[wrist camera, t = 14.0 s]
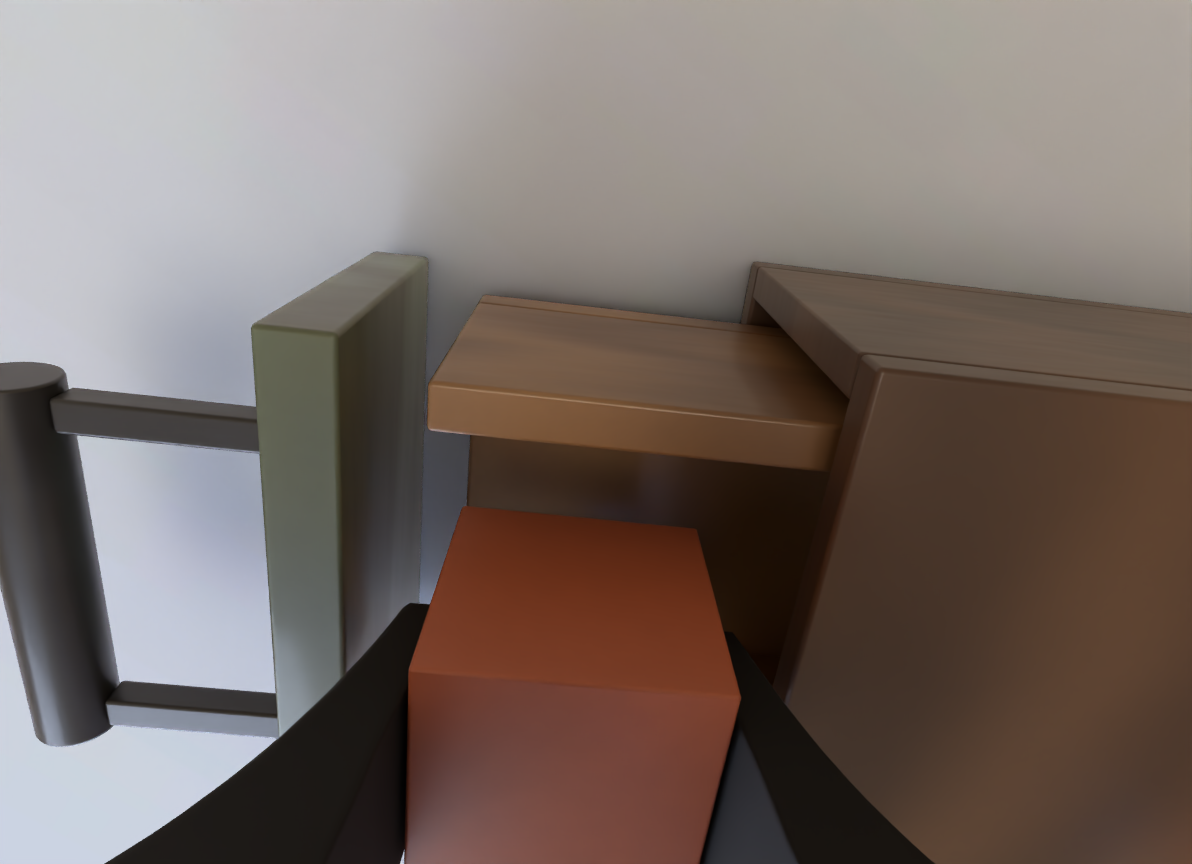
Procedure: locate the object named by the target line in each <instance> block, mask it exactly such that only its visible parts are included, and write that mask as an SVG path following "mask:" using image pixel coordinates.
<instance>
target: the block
mask: <svg viewBox="0 0 1192 864" xmlns="http://www.w3.org/2000/svg"><path fill="white" fill-rule="evenodd" d="M740 701H741V695H740V692H739V688H738V684H737V680H736V676H735V673H734V669H733V665H732V661H731V657H730V654H729V650H728V646H727V642H726V639H725V635H724V631H723V627H722V623H721V620H720V616H719V612H718V608H717V604H716V601H715V597H714V593H713V589H712V586H711V582H710V578H709V574H708V570H707V567H706V563H705V559H704V555H703V552H702V548H701V544H700V540H699V536H698V533H697V530H696V529H694V528H684V527H674V526H664V525H653V524H643V523H633V522H623V521H613V520H603V519H593V518H582V517H572V516H562V515H552V514H542V513H532V512H521V511H511V510H501V509H491V508H481V507H471V506H463V507H462V509H461V512H460V515H459V518H458V521H457V524H456V527H455V530H454V533H453V536H452V539H451V542H450V546H449V549H448V552H447V555H446V558H445V561H444V564H443V567H442V570H441V573H440V576H439V579H438V582H437V585H436V588H435V591H434V594H433V597H432V600H431V603H430V606H429V609H428V612H427V615H426V618H425V621H424V624H423V627H422V630H421V633H420V636H419V639H418V642H417V645H416V648H415V651H414V654H413V657H412V660H411V663H410V667H409V673H408V718H407V764H406V809H405V854H404V864H700V860H701V856H702V852H703V848H704V844H705V840H706V836H707V832H708V828H709V825H710V821H711V817H712V813H713V809H714V805H715V801H716V797H717V793H718V789H719V785H720V781H721V777H722V773H723V769H724V765H725V761H726V757H727V753H728V749H729V745H730V741H731V737H732V733H733V729H734V725H735V721H736V717H737V713H738V709H739V705H740Z"/></svg>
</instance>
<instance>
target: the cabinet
mask: <svg viewBox="0 0 1192 864" xmlns="http://www.w3.org/2000/svg"><path fill="white" fill-rule="evenodd" d="M740 324H746V325H755V326H763V327H772V328H781V329H783V330H784V331H785V332H786V333H787V334H788V335H789V336H790V337H791V338H792V339H793V340H794V341H795V342H796V343H797V345H798V346H799V347H800V348H801V349H802V350H803V351H804V352H805V353H806V354H807V355H808V356H809V357H810V358H811V359H812V360H813V362H814V363H815V364H816V365H817V366H818V367H819V368H820V369H821V370H822V371H823V372H824V373H825V374H826V375H827V376H828V377H829V379H830V380H831V381H832V382H833V383H834V384H835V385H836V386H837V387H838V388H839V389H840V390H841V391H842V392H843V393H844V394H845V396H846V397H847V398H849V399H850V401H849V405H848V409H847V412H846V416H845V420H844V424H843V427H842V431H841V435H840V438H839V442H838V446H837V449H836V453H835V457H834V461H833V464H832V468H831V472H830V475H829V479H828V483H827V487H826V490H825V494H824V498H823V501H822V505H821V509H820V513H819V516H818V520H817V524H816V527H815V531H814V535H813V538H812V542H811V546H810V550H809V553H808V557H807V561H806V564H805V568H804V572H803V576H802V579H801V583H800V587H799V590H798V594H797V598H796V601H795V605H794V609H793V613H792V616H791V620H790V624H789V627H788V631H787V635H786V639H785V642H784V646H783V650H782V653H781V657H780V661H779V665H778V668H777V672H776V676H775V679H774V683H773V688H774V690H775V691H776V692H777V694H778V695H779V696H780V698H781V699H782V700H783V702H784V703H785V704H786V706H787V707H788V708H789V709H790V711H791V712H792V713H793V714H794V716H795V717H796V718H797V719H798V721H799V722H800V723H801V725H802V726H803V727H804V728H805V730H806V731H807V732H808V733H809V735H810V736H811V737H812V738H813V740H814V741H815V742H816V743H817V744H818V746H819V747H820V748H821V749H822V750H823V752H824V753H825V754H826V755H827V756H828V757H829V758H830V760H831V761H832V762H833V763H834V764H835V765H836V766H837V767H838V769H839V770H840V771H841V772H842V773H843V774H844V775H845V776H846V778H847V779H848V780H849V781H850V782H851V783H852V784H853V785H854V786H855V787H856V788H857V789H858V790H859V792H860V793H861V794H862V795H863V796H864V797H865V798H866V799H867V800H868V801H869V802H870V803H871V804H872V805H873V806H874V807H875V808H876V809H877V810H878V811H879V812H880V813H881V814H882V815H883V816H884V817H885V818H886V819H887V820H888V821H889V822H890V823H891V824H892V825H894V826H895V827H896V828H897V829H898V830H899V831H900V832H901V833H902V834H903V835H904V836H905V837H906V838H907V839H908V840H909V841H910V842H911V843H912V844H914V845H915V846H916V847H917V848H918V849H919V850H920V851H921V852H922V853H923V854H924V855H926V856H927V857H928V858H929V859H930V860H931V861H932V862H934V863H935V864H1192V314H1191V313H1183V312H1174V311H1166V310H1158V309H1149V308H1141V307H1132V306H1124V305H1116V304H1107V303H1099V302H1090V301H1082V300H1074V299H1065V298H1057V297H1048V296H1040V295H1032V294H1023V293H1015V292H1006V291H998V290H990V289H981V288H973V287H964V286H956V285H948V284H939V283H931V282H922V281H914V280H905V279H897V278H889V277H880V276H872V275H863V274H855V273H847V272H838V271H830V270H821V269H813V268H805V267H796V266H788V265H779V264H771V263H763V262H754V263H753V264H752V267H751V272H750V277H749V282H748V287H747V292H746V297H745V302H744V307H743V312H742V317H741V322H740Z"/></svg>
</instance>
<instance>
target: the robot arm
mask: <svg viewBox="0 0 1192 864" xmlns="http://www.w3.org/2000/svg"><path fill="white" fill-rule="evenodd" d="M429 606H430V604H419V603H409V604H407V605H406V606H405V607H403V608H402V609H401V611H400V612H399V613H398V614H397V616H396V617H395V618H394V619H393V621H392V622H391V623H390V624H389V626H388V627H387V628H386V629H385V630H384V632H383V633H382V634H381V635H380V636H379V637H378V639H377V640H376V641H375V642H374V643H373V644H372V645H371V647H370V648H369V649H368V650H367V651H366V652H365V653H364V654H363V656H362V657H361V658H360V659H359V660H358V661H357V662H356V663H355V664H354V665H353V666H352V667H351V668H350V669H349V670H348V671H347V673H346V674H345V675H344V676H343V677H342V678H341V679H340V680H339V681H338V682H337V683H336V684H335V685H334V686H333V687H332V688H331V689H330V690H329V691H328V692H327V693H326V694H325V695H324V696H323V697H322V698H321V699H320V700H319V701H318V702H317V703H316V704H315V705H314V706H313V707H312V708H310V709H309V710H308V711H307V712H306V713H305V714H304V715H303V716H302V717H301V718H300V719H299V720H298V721H297V722H296V723H295V724H293V725H292V726H291V727H290V728H289V729H288V730H287V731H286V732H285V733H284V734H283V735H281V736H280V737H279V738H278V739H277V740H276V741H274V742H273V743H272V744H271V745H270V746H269V747H268V748H266V749H265V750H264V751H263V752H262V753H260V754H259V755H258V756H257V757H256V758H254V759H253V760H252V761H251V762H249V763H248V764H247V765H246V766H244V767H243V768H242V769H241V770H239V771H238V772H237V773H236V774H234V775H233V776H232V777H231V778H229V779H228V780H227V781H225V782H224V783H223V784H221V785H220V786H219V787H217V788H216V789H215V790H213V791H212V792H211V793H209V794H208V795H206V796H205V797H204V798H202V799H201V800H200V801H198V802H197V803H196V804H194V805H193V806H191V807H190V808H189V809H187V810H186V811H185V812H183V813H182V814H180V815H179V816H178V817H176V818H175V819H173V820H172V821H170V822H169V823H167V824H166V825H165V826H163V827H162V828H160V829H159V830H157V831H156V832H154V833H153V834H151V835H150V836H148V837H146V838H145V839H143V840H142V841H140V842H138V843H137V844H135V845H134V846H132V847H130V848H129V849H127V850H126V851H124V852H122V853H121V854H119V855H118V856H116V857H115V858H113V859H111V860H110V861H108V862H107V863H105V864H400V861H401V858H402V855H403V852H404V849H405V809H406V764H407V718H408V673H409V667H410V663H411V660H412V657H413V654H414V651H415V648H416V645H417V642H418V639H419V636H420V633H421V630H422V627H423V624H424V621H425V618H426V615H427V612H428V609H429ZM724 635H725V639H726V642H727V646H728V650H729V654H730V657H731V661H732V665H733V669H734V673H735V676H736V680H737V684H738V688H739V692H740V695H741V701H740V705H739V709H738V713H737V717H736V721H735V725H734V729H733V733H732V737H731V741H730V745H729V749H728V753H727V757H726V761H725V765H724V769H723V773H722V777H721V781H720V785H719V789H718V793H717V797H716V801H715V805H714V809H713V813H712V817H711V821H710V825H709V828H708V832H707V836H706V840H705V844H704V848H703V852H702V856H701V860H700V864H935V863H934V862H932V861H931V860H930V859H929V858H928V857H927V856H926V855H924V854H923V853H922V852H921V851H920V850H919V849H918V848H917V847H916V846H915V845H914V844H912V843H911V842H910V841H909V840H908V839H907V838H906V837H905V836H904V835H903V834H902V833H901V832H900V831H899V830H898V829H897V828H896V827H895V826H894V825H892V824H891V823H890V822H889V821H888V820H887V819H886V818H885V817H884V816H883V815H882V814H881V813H880V812H879V811H878V810H877V809H876V808H875V807H874V806H873V805H872V804H871V803H870V802H869V801H868V800H867V799H866V798H865V797H864V796H863V795H862V794H861V793H860V792H859V790H858V789H857V788H856V787H855V786H854V785H853V784H852V783H851V782H850V781H849V780H848V779H847V778H846V776H845V775H844V774H843V773H842V772H841V771H840V770H839V769H838V767H837V766H836V765H835V764H834V763H833V762H832V761H831V760H830V758H829V757H828V756H827V755H826V754H825V753H824V752H823V750H822V749H821V748H820V747H819V746H818V744H817V743H816V742H815V741H814V740H813V738H812V737H811V736H810V735H809V733H808V732H807V731H806V730H805V728H804V727H803V726H802V725H801V723H800V722H799V721H798V719H797V718H796V717H795V716H794V714H793V713H792V712H791V711H790V709H789V708H788V707H787V706H786V704H785V703H784V702H783V700H782V699H781V698H780V696H779V695H778V694H777V692H776V691H775V690H774V688H773V687H772V686H771V684H770V683H769V681H768V680H767V679H766V677H765V676H764V675H763V673H762V672H761V671H760V669H759V668H758V666H757V665H756V664H755V662H754V661H753V659H752V658H751V657H750V655H749V654H748V652H747V651H746V650H745V648H744V647H743V645H742V644H741V643H740V641H739V640H738V639H737V637H736V636H735V635H734V633H733V632H726V631H724Z"/></svg>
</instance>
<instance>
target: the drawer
mask: <svg viewBox="0 0 1192 864" xmlns="http://www.w3.org/2000/svg"><path fill="white" fill-rule="evenodd" d="M427 298H428V259H427V258H425V257H419V256H410V255H402V254H393V253H385V252H373V253H371V254H370V255H368V256H366V257H365V258H363V259H361V260H360V261H358V262H356V263H354V264H353V265H351V266H349V267H348V268H346V269H344V270H343V271H341V272H339V273H338V274H336V275H334V276H333V277H331V278H329V279H328V280H326V281H324V282H323V283H321V284H319V285H318V286H316V287H314V288H313V289H311V290H309V291H307V292H306V293H304V294H302V295H301V296H299V297H297V298H296V299H294V300H292V301H291V302H289V303H287V304H286V305H284V306H282V307H281V308H279V309H277V310H276V311H274V312H272V313H271V314H269V315H267V316H265V317H264V318H262V319H260V320H259V321H257V322H255V323H254V324H253V325H252V327H251V336H252V350H253V365H254V380H255V394H256V407H253V406H243V405H233V404H224V403H214V402H205V401H195V400H186V399H176V398H166V397H157V396H147V395H138V394H128V393H119V392H109V391H99V390H90V389H80V388H71V389H69V388H68V382H67V376H66V373H65V372H64V370H63V369H62V368H60V367H58V366H55V365H51V364H45V363H36V362H10V363H0V588H1V592H2V596H3V600H4V605H5V609H6V613H7V617H8V621H9V625H10V630H11V634H12V638H13V642H14V646H15V651H16V655H17V659H18V663H19V667H20V672H21V676H22V680H23V684H24V688H25V693H26V697H27V701H28V705H29V709H30V713H31V718H32V722H33V726H34V730H35V734H36V736H37V738H38V739H39V740H40V741H41V742H43V743H44V744H47V745H50V746H55V747H68V746H74V745H78V744H82V743H85V742H88V741H90V740H93V739H95V738H97V737H99V736H101V735H102V734H104V733H105V732H107V731H108V730H109V729H111V728H112V727H113V726H114V725H116V726H128V727H141V728H153V729H166V730H178V731H190V732H203V733H215V734H228V735H240V736H252V737H265V738H277V739H278V738H279V737H280V736H281V735H283V734H284V733H285V732H286V731H287V730H288V729H289V728H290V727H291V726H292V725H293V724H295V723H296V722H297V721H298V720H299V719H300V718H301V717H302V716H303V715H304V714H305V713H306V712H307V711H308V710H309V709H310V708H312V707H313V706H314V705H315V704H316V703H317V702H318V701H319V700H320V699H321V698H322V697H323V696H324V695H325V694H326V693H327V692H328V691H329V690H330V689H331V688H332V687H333V686H334V685H335V684H336V683H337V682H338V681H339V680H340V679H341V678H342V677H343V676H344V675H345V674H346V673H347V671H348V670H349V669H350V668H351V667H352V666H353V665H354V664H355V663H356V662H357V661H358V660H359V659H360V658H361V657H362V656H363V654H364V653H365V652H366V651H367V650H368V649H369V648H370V647H371V645H372V644H373V643H374V642H375V641H376V640H377V639H378V637H379V636H380V635H381V634H382V633H383V632H384V630H385V629H386V628H387V627H388V626H389V624H390V623H391V622H392V621H393V619H394V618H395V617H396V616H397V614H398V613H399V612H400V611H401V609H402V608H403V607H405V606H406V605H407V604H409V603H419V584H420V548H421V513H422V477H423V441H424V405H425V369H426V334H427ZM849 401H850V399H849V398H847V397H846V396H845V394H844V393H843V392H842V391H841V390H840V389H839V388H838V387H837V386H836V385H835V384H834V383H833V382H832V381H831V380H830V379H829V377H828V376H827V375H826V374H825V373H824V372H823V371H822V370H821V369H820V368H819V367H818V366H817V365H816V364H815V363H814V362H813V360H812V359H811V358H810V357H809V356H808V355H807V354H806V353H805V352H804V351H803V350H802V349H801V348H800V347H799V346H798V345H797V343H796V342H795V341H794V340H793V339H792V338H791V337H790V336H789V335H788V334H787V333H786V332H785V331H784V330H783V329H781V328H772V327H763V326H755V325H746V324H737V323H728V322H720V321H711V320H702V319H693V318H685V317H676V316H667V315H658V314H650V313H641V312H632V311H623V310H615V309H606V308H597V307H588V306H580V305H571V304H562V303H553V302H545V301H536V300H527V299H518V298H510V297H501V296H492V295H483V296H482V298H481V299H480V301H479V303H478V304H477V306H476V307H475V309H474V311H473V312H472V314H471V315H470V317H469V319H468V320H467V322H466V323H465V325H464V327H463V328H462V330H461V332H460V333H459V335H458V336H457V338H456V340H455V341H454V343H453V344H452V346H451V348H450V349H449V351H448V353H447V354H446V356H445V357H444V359H443V361H442V362H441V364H440V365H439V367H438V369H437V370H436V372H435V374H434V375H433V377H432V378H431V380H430V382H429V384H428V405H427V427H428V429H429V430H431V431H438V432H448V433H458V434H467V435H470V448H469V467H468V485H467V503H466V506H471V507H481V508H491V509H501V510H511V511H521V512H532V513H542V514H552V515H562V516H572V517H582V518H593V519H603V520H613V521H623V522H633V523H643V524H653V525H664V526H674V527H684V528H694V529H696V530H697V533H698V536H699V540H700V544H701V548H702V552H703V555H704V559H705V563H706V567H707V570H708V574H709V578H710V582H711V586H712V589H713V593H714V597H715V601H716V604H717V608H718V612H719V616H720V620H721V623H722V627H723V631H726V632H733V633H734V635H735V636H736V637H737V639H738V640H739V641H740V643H741V644H742V645H743V647H744V648H745V650H746V651H747V652H748V654H749V655H750V657H751V658H752V659H753V661H754V662H755V664H756V665H757V666H758V668H759V669H760V671H761V672H762V673H763V675H764V676H765V677H766V679H767V680H768V681H769V683H770V684H771V686H772V687H773V683H774V679H775V676H776V672H777V668H778V665H779V661H780V657H781V653H782V650H783V646H784V642H785V639H786V635H787V631H788V627H789V624H790V620H791V616H792V613H793V609H794V605H795V601H796V598H797V594H798V590H799V587H800V583H801V579H802V576H803V572H804V568H805V564H806V561H807V557H808V553H809V550H810V546H811V542H812V538H813V535H814V531H815V527H816V524H817V520H818V516H819V513H820V509H821V505H822V501H823V498H824V494H825V490H826V487H827V483H828V479H829V475H830V472H831V468H832V464H833V461H834V457H835V453H836V449H837V446H838V442H839V438H840V435H841V431H842V427H843V424H844V420H845V416H846V412H847V409H848V405H849ZM77 435H80V436H90V437H100V438H110V439H120V440H129V441H139V442H149V443H159V444H169V445H179V446H189V447H199V448H209V449H218V450H228V451H238V452H248V453H258V454H260V468H261V483H262V497H263V512H264V527H265V541H266V556H267V571H268V586H269V600H270V615H271V630H272V644H273V659H274V674H275V688H276V693H264V692H252V691H240V690H228V689H216V688H204V687H192V686H180V685H169V684H157V683H145V682H133V681H123V682H121V683H120V682H119V676H118V670H117V665H116V659H115V653H114V647H113V642H112V636H111V630H110V624H109V619H108V613H107V607H106V601H105V595H104V590H103V584H102V578H101V572H100V567H99V561H98V555H97V549H96V544H95V538H94V532H93V526H92V520H91V515H90V509H89V503H88V497H87V492H86V486H85V480H84V474H83V469H82V463H81V457H80V451H79V446H78V440H77Z"/></svg>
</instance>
